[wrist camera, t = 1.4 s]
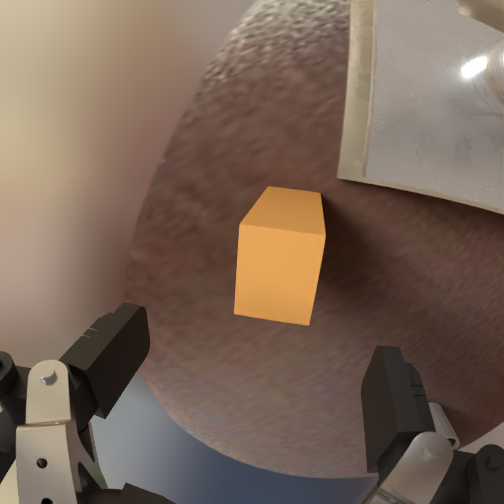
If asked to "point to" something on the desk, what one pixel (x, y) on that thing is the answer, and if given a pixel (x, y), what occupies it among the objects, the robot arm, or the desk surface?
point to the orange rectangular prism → (280, 256)
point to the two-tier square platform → (426, 99)
